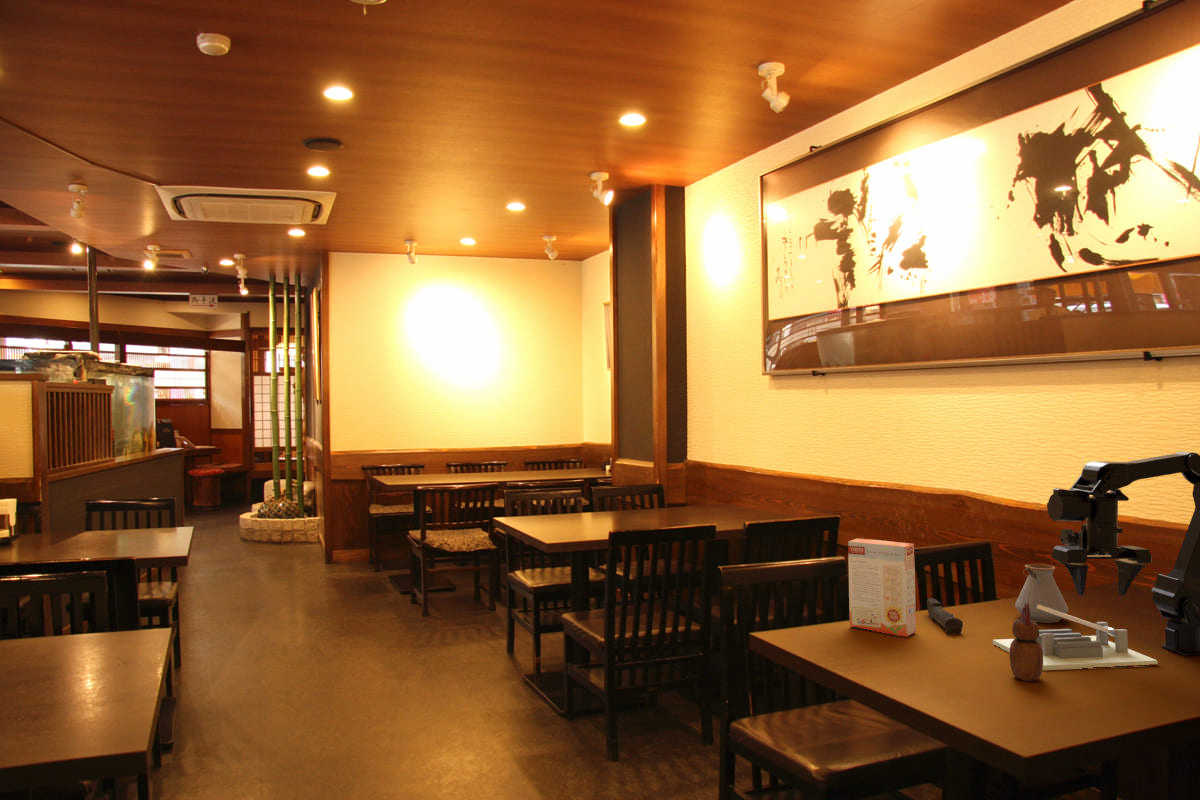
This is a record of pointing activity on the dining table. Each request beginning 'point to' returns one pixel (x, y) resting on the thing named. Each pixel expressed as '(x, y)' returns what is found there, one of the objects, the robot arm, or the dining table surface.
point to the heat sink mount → (1083, 649)
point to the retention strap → (1079, 621)
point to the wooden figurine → (1026, 648)
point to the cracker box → (882, 586)
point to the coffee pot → (1041, 594)
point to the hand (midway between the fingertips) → (1101, 595)
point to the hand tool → (944, 617)
